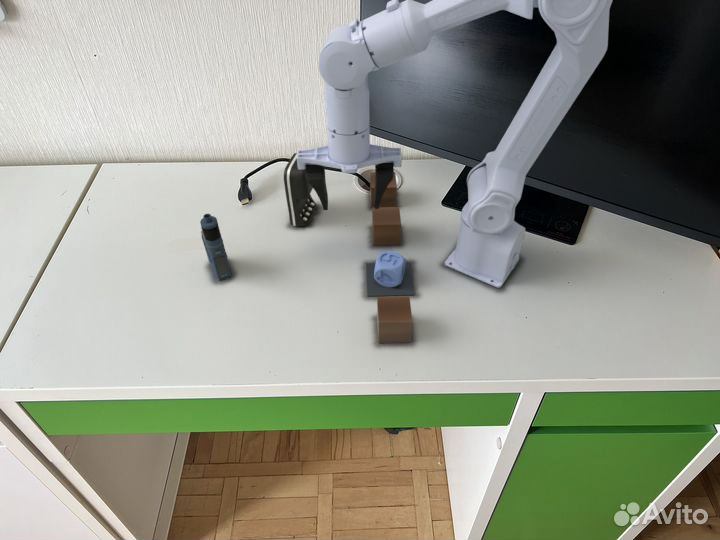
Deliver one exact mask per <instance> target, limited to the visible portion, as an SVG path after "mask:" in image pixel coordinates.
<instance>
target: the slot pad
mask: <svg viewBox="0 0 720 540" xmlns="http://www.w3.org/2000/svg"><path fill="white" fill-rule="evenodd" d="M375 264H376V262H367V263H365V268H366V269H365V270H366V290H367V291H366V294H367V297H370V298H371V297H410V296H415V289H414V283H413V275H412V274H413V273H412V267H411V262H408V261H405V271H404V276H403V280H402V282H401V284H400V285H398V286H395V287H385V286H382V285H380V284H379V283H378V282H377V281H376V280H375V279H374V269H375Z"/></svg>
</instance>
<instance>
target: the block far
mask: <svg viewBox="0 0 720 540" xmlns="http://www.w3.org/2000/svg"><path fill="white" fill-rule="evenodd" d="M369 179H370V180H369V198H370V208H371V209H372V208H374V189H375V172H370V173H369ZM397 194H398V183H397V175H396V172H395V171H394V176H393V179H392V181H391V182H390V183H389V185H388V186H387V188H386V190H385V191H384V194H383V196H382V199H381V202H380V206H379V207H397V198H398V195H397Z"/></svg>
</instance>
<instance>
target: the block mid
mask: <svg viewBox="0 0 720 540" xmlns="http://www.w3.org/2000/svg"><path fill="white" fill-rule="evenodd" d="M371 232H372V233H371V235H372V246H373V247H379V246H382V247H384V246H401V241H402V240H401V238H402V219H401V210H400V206H396V207H379V209H375V208H371Z"/></svg>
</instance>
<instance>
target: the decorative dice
mask: <svg viewBox="0 0 720 540" xmlns="http://www.w3.org/2000/svg"><path fill="white" fill-rule="evenodd" d="M405 262H406V258H405V257H404V256H403V255H402V254H401V253H399V252H397V251H393V250H387V251H383V252H381V253H379V254H378V255H377V257H376V260H375V263H376V264H375V269H374V279H375V280H376V281H377V282H378V283H379V284H380V285H382V286H385V287H395V286H398V285H400V284H401V282H402V280H403V276H404V271H405Z"/></svg>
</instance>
